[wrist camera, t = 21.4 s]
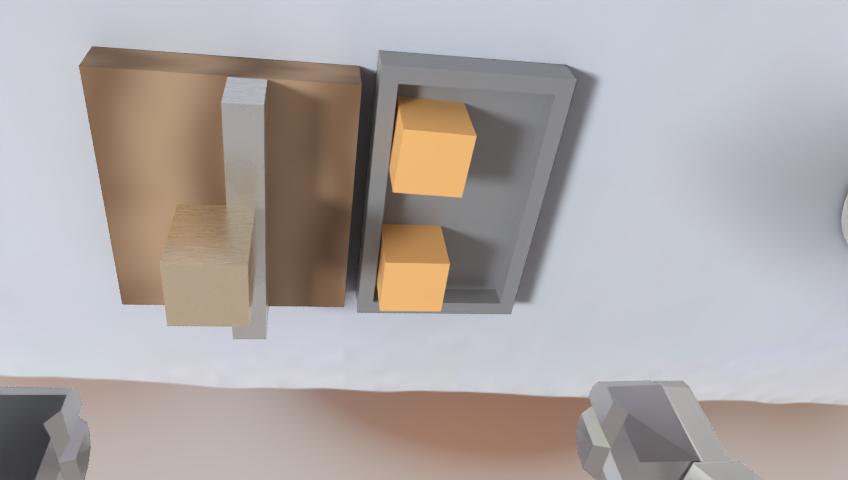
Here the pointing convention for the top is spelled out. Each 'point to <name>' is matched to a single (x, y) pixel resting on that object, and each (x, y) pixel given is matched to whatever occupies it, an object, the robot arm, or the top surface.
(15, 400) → the robot arm
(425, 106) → the orange cube
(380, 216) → the tray
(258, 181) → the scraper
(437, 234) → the orange cube
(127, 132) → the chopping board
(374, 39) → the top surface
